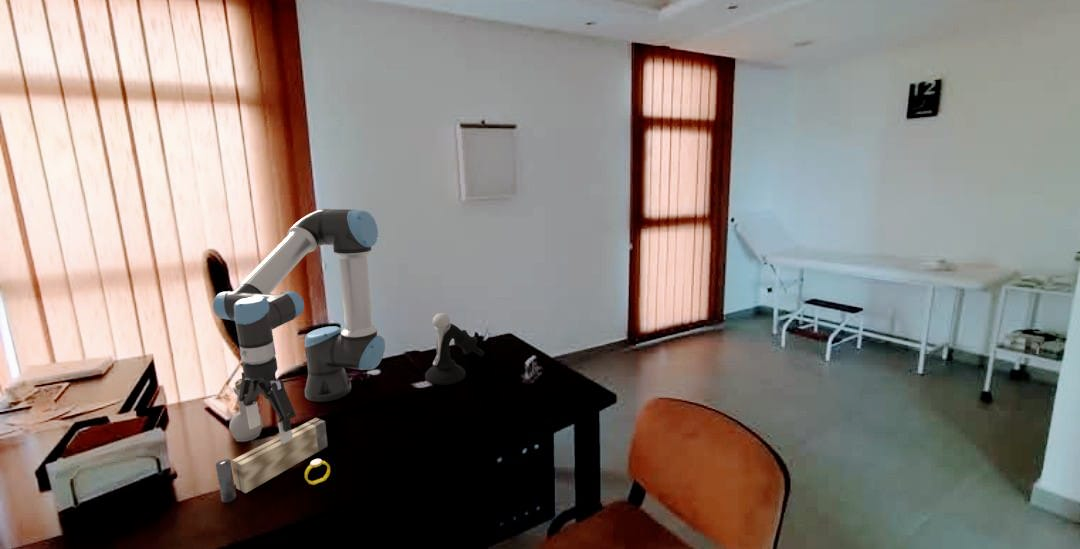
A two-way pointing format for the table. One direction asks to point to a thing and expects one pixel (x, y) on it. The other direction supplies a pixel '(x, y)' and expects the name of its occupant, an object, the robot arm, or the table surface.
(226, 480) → the post
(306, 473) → the gold ring
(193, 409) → the table surface
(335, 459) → the table surface
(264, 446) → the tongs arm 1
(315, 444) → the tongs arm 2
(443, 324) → the sculpture
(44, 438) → the table surface
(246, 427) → the potion bottle
